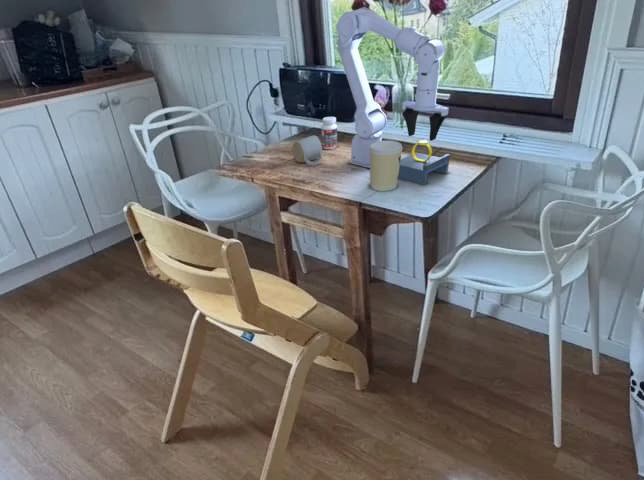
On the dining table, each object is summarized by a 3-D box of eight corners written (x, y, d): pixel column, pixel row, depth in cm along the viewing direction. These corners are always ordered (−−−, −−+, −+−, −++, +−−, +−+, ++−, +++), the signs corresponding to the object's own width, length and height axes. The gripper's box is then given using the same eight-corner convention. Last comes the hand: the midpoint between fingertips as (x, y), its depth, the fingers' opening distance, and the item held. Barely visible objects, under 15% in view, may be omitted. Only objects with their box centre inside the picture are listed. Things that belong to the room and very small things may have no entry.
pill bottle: (326, 150, 186) (325, 121, 180) (318, 146, 190) (318, 118, 184) (340, 147, 187) (340, 118, 181) (332, 143, 191) (332, 115, 185)
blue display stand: (391, 175, 161) (392, 158, 158) (415, 164, 167) (416, 147, 163) (424, 184, 153) (426, 166, 150) (447, 172, 159) (450, 154, 156)
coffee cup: (405, 187, 153) (408, 146, 145) (376, 194, 151) (378, 152, 144) (390, 177, 160) (392, 138, 152) (362, 183, 158) (363, 143, 151)
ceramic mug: (291, 160, 181) (290, 138, 176) (311, 154, 183) (310, 132, 178) (307, 168, 173) (307, 145, 168) (327, 163, 176) (327, 140, 171)
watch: (409, 161, 158) (411, 141, 155) (413, 158, 160) (415, 138, 156) (427, 164, 155) (430, 143, 151) (432, 161, 157) (434, 141, 153)
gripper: (457, 88, 144) (450, 138, 153) (414, 82, 154) (410, 130, 162) (442, 93, 141) (436, 144, 149) (399, 88, 150) (395, 136, 159)
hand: (421, 137), depth 156 cm, fingers open, 7 cm apart
